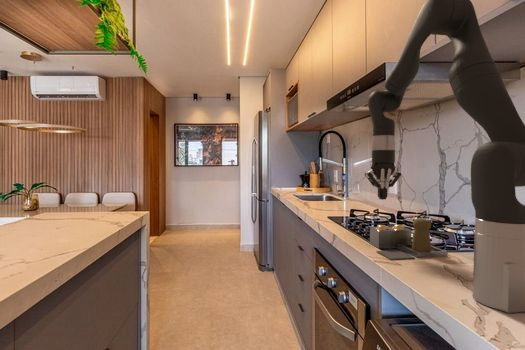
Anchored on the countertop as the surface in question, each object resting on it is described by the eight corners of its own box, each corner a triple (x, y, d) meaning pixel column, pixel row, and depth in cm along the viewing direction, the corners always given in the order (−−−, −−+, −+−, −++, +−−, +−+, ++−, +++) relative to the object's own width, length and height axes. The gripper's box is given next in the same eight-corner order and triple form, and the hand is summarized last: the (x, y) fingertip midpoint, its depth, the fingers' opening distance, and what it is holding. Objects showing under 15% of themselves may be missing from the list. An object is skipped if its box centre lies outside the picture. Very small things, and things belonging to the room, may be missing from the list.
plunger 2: (405, 240, 106) (405, 226, 106) (397, 240, 106) (397, 226, 106) (400, 238, 109) (400, 224, 109) (392, 238, 109) (392, 224, 109)
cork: (406, 251, 100) (407, 218, 100) (418, 248, 103) (419, 216, 103) (423, 256, 95) (424, 221, 95) (436, 253, 98) (436, 219, 97)
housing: (447, 256, 95) (448, 237, 95) (397, 258, 92) (398, 239, 92) (412, 242, 112) (412, 226, 112) (369, 243, 109) (370, 227, 109)
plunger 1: (387, 240, 105) (388, 226, 105) (379, 241, 105) (380, 226, 105) (383, 238, 108) (383, 224, 108) (375, 239, 108) (375, 225, 108)
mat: (414, 258, 92) (414, 257, 92) (390, 259, 91) (390, 258, 91) (399, 251, 100) (399, 250, 100) (376, 252, 99) (376, 250, 99)
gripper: (370, 148, 101) (370, 200, 101) (407, 149, 103) (406, 200, 103) (360, 149, 108) (359, 198, 109) (394, 150, 110) (393, 197, 111)
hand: (382, 199), depth 106 cm, fingers closed
